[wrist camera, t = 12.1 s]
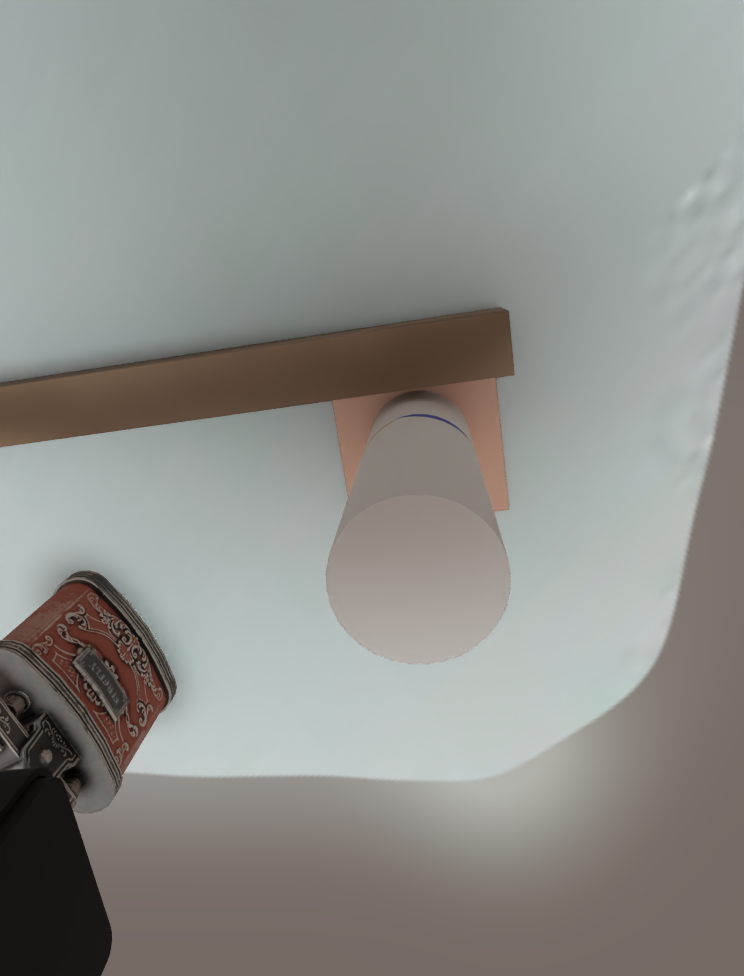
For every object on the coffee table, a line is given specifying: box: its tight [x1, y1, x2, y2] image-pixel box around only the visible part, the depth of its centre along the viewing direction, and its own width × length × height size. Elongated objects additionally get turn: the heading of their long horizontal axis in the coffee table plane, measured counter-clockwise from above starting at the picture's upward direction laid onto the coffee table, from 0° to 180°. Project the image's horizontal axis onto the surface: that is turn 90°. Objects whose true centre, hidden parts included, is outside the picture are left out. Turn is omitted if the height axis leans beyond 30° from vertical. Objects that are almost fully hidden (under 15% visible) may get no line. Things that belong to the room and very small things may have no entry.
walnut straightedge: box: [0, 308, 515, 447], centre depth 29 cm, size 2×24×3 cm, turn 98°
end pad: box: [332, 378, 509, 511], centre depth 31 cm, size 6×7×1 cm
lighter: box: [0, 571, 177, 813], centre depth 30 cm, size 8×3×10 cm, turn 29°
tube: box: [326, 390, 511, 664], centre depth 24 cm, size 4×4×15 cm
